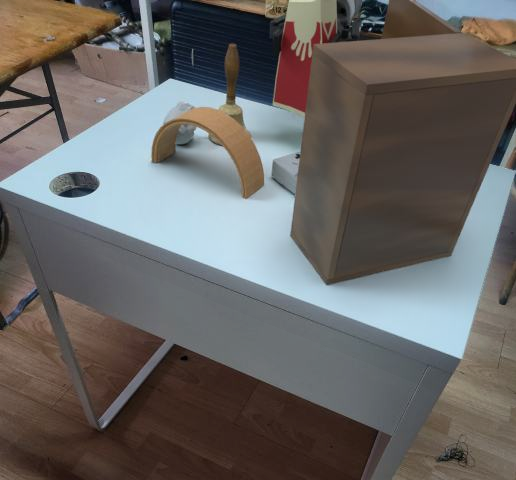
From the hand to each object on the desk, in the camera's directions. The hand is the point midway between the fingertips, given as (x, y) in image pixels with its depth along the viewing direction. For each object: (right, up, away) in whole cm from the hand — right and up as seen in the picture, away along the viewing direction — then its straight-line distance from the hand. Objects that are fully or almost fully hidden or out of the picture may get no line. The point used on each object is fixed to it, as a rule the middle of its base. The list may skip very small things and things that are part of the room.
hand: (302, 50), depth 80 cm
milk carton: (+1, -3, +11) cm, 12 cm away
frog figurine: (-21, -10, +13) cm, 27 cm away
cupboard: (+10, -33, -6) cm, 35 cm away
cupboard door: (+17, -17, +9) cm, 26 cm away
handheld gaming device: (+4, -19, +7) cm, 20 cm away
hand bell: (-13, -8, +16) cm, 22 cm away
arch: (-16, -18, +6) cm, 25 cm away
